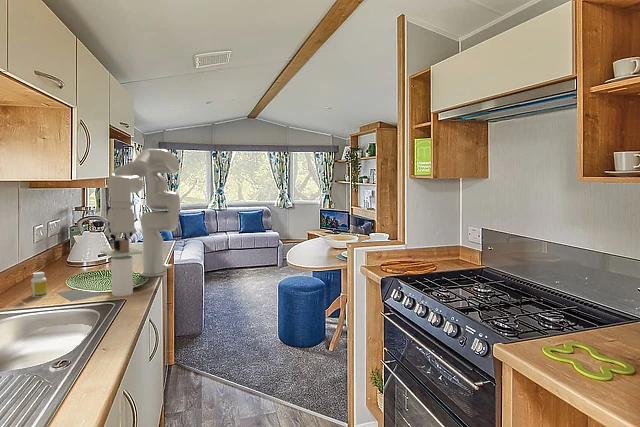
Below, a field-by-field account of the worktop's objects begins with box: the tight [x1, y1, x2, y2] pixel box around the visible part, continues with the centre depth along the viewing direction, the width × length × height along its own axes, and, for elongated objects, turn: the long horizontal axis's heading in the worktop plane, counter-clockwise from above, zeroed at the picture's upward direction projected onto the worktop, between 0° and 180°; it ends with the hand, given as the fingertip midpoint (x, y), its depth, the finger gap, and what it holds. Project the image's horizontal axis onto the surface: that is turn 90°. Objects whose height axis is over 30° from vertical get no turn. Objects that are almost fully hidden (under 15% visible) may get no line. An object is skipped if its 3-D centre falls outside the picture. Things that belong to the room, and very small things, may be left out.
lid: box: [100, 237, 143, 257], centre depth 186 cm, size 12×12×6 cm
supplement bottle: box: [30, 271, 48, 298], centre depth 181 cm, size 5×5×10 cm
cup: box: [110, 255, 134, 297], centre depth 188 cm, size 8×8×16 cm
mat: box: [56, 288, 112, 302], centre depth 187 cm, size 16×16×1 cm
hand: (121, 248), depth 186 cm, fingers closed on lid, 2 cm apart
